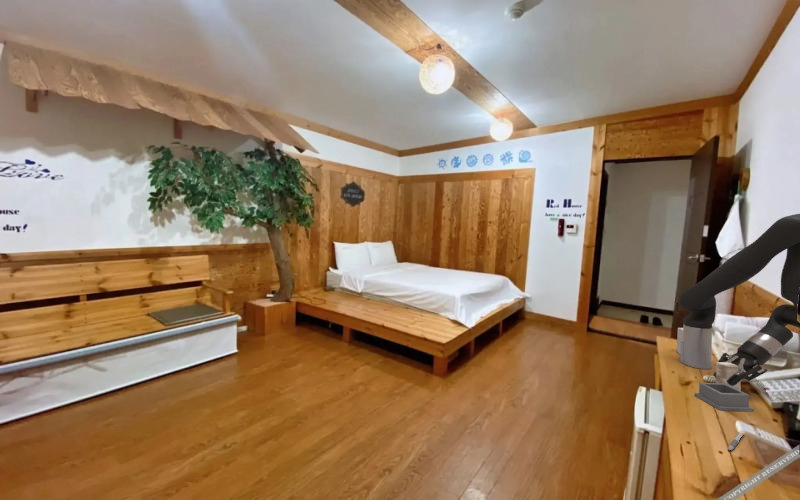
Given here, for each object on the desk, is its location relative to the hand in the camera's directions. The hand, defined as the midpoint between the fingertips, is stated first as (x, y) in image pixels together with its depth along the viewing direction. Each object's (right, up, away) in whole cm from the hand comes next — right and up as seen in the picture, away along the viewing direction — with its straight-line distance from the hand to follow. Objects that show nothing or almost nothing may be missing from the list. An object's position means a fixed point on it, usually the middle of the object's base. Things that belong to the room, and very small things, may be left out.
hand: (722, 380), depth 117 cm
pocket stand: (-8, -5, -8) cm, 12 cm away
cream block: (+2, -4, 0) cm, 5 cm away
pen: (-25, -6, -29) cm, 39 cm away
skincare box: (+21, -3, +38) cm, 43 cm away
